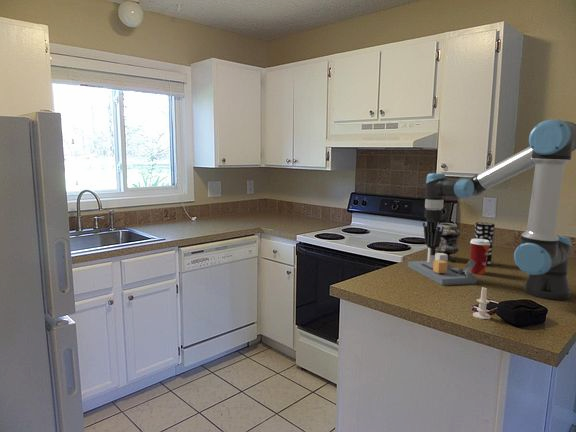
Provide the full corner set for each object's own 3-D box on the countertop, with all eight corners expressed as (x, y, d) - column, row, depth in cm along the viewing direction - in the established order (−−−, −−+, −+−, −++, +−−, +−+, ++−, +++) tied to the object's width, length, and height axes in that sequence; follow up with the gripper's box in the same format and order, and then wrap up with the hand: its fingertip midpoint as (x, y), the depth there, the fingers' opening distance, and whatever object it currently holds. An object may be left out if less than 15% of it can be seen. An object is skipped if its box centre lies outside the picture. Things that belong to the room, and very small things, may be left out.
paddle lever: (468, 276, 172) (476, 262, 172) (465, 275, 172) (474, 260, 172) (463, 274, 175) (471, 260, 175) (460, 272, 175) (469, 258, 175)
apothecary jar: (460, 262, 205) (463, 226, 202) (435, 261, 207) (437, 225, 204) (454, 256, 217) (457, 222, 214) (430, 255, 219) (433, 221, 216)
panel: (476, 283, 172) (477, 272, 171) (441, 285, 168) (442, 274, 168) (438, 265, 199) (438, 256, 198) (407, 266, 195) (408, 257, 195)
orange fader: (446, 272, 175) (447, 262, 175) (438, 273, 174) (439, 262, 174) (441, 270, 179) (442, 260, 178) (432, 270, 178) (433, 260, 178)
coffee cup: (489, 275, 183) (492, 242, 181) (469, 274, 185) (472, 241, 182) (484, 270, 191) (487, 238, 189) (465, 269, 193) (468, 237, 190)
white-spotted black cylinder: (473, 265, 200) (477, 224, 197) (470, 261, 208) (474, 221, 205) (492, 266, 198) (496, 225, 195) (488, 262, 206) (492, 222, 203)
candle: (488, 314, 138) (491, 284, 137) (492, 320, 133) (495, 289, 132) (471, 312, 139) (474, 282, 138) (474, 318, 134) (477, 287, 133)
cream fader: (447, 264, 188) (447, 255, 188) (439, 265, 188) (439, 255, 187) (442, 262, 192) (442, 252, 192) (434, 262, 191) (434, 253, 191)
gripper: (450, 210, 175) (447, 265, 178) (433, 207, 187) (430, 258, 191) (434, 211, 173) (431, 266, 176) (418, 207, 186) (415, 258, 189)
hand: (431, 261), depth 184 cm, fingers closed
